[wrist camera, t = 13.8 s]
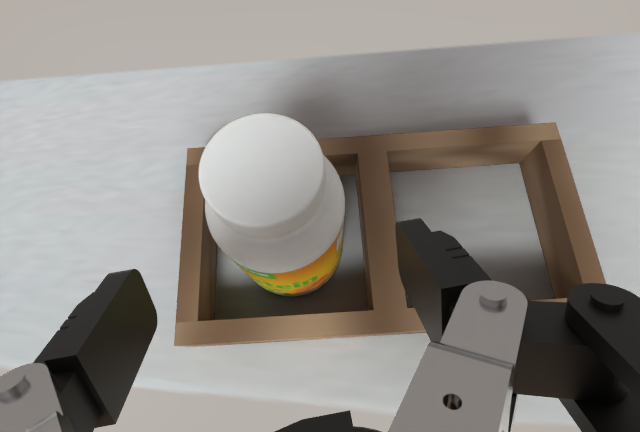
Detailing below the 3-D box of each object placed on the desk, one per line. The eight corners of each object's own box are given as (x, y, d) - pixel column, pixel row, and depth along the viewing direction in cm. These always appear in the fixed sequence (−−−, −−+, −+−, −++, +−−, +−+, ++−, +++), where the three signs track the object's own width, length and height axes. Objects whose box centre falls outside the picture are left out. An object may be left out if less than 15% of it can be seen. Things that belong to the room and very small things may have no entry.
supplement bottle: (238, 295, 20) (158, 246, 11) (250, 200, 22) (189, 91, 13) (340, 300, 20) (344, 254, 11) (344, 204, 22) (350, 95, 13)
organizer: (532, 146, 22) (555, 122, 20) (582, 322, 19) (616, 318, 17) (202, 169, 23) (187, 148, 20) (193, 346, 19) (174, 345, 17)
